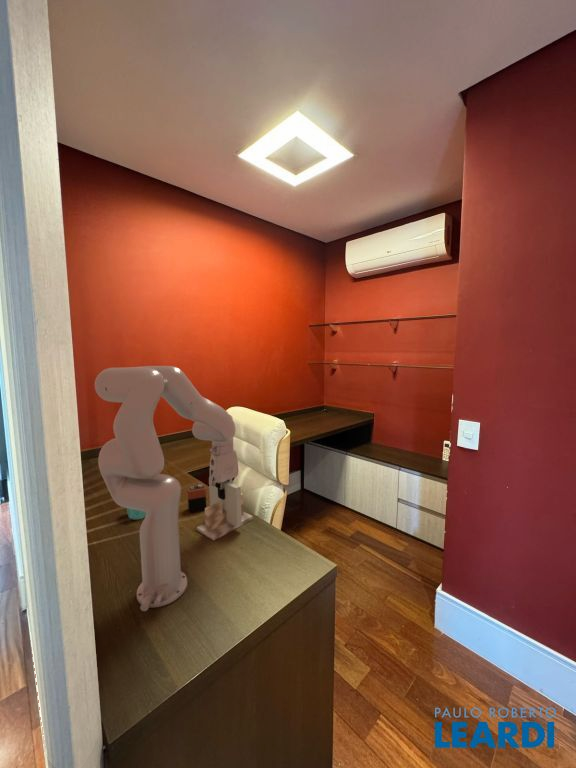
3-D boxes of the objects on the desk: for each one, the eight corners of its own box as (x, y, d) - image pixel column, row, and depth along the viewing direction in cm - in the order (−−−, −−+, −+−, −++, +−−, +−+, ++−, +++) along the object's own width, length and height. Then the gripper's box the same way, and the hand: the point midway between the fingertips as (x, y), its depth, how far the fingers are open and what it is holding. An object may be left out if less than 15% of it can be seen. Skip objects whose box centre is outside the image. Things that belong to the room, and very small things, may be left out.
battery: (206, 509, 126) (205, 486, 125) (189, 513, 124) (188, 489, 123) (205, 505, 130) (204, 482, 129) (188, 508, 128) (187, 485, 127)
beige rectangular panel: (237, 526, 109) (236, 488, 107) (210, 512, 119) (208, 477, 118) (241, 524, 110) (240, 486, 109) (214, 510, 121) (213, 475, 119)
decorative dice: (126, 514, 124) (125, 495, 123) (147, 507, 129) (146, 489, 128) (131, 522, 118) (130, 502, 117) (153, 515, 123) (152, 495, 122)
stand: (213, 540, 105) (212, 514, 104) (196, 530, 111) (195, 505, 111) (252, 519, 119) (252, 495, 118) (235, 510, 125) (235, 488, 124)
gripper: (210, 455, 104) (212, 508, 105) (246, 445, 116) (247, 492, 118) (197, 451, 109) (200, 502, 110) (233, 441, 121) (234, 487, 122)
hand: (224, 496), depth 114 cm, fingers closed on beige rectangular panel, 2 cm apart
